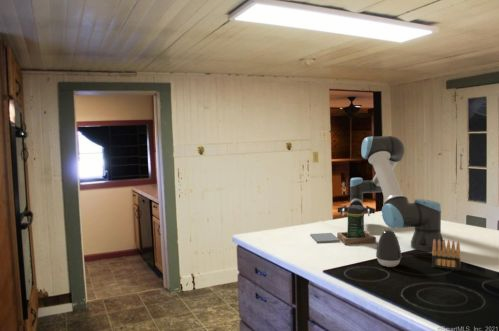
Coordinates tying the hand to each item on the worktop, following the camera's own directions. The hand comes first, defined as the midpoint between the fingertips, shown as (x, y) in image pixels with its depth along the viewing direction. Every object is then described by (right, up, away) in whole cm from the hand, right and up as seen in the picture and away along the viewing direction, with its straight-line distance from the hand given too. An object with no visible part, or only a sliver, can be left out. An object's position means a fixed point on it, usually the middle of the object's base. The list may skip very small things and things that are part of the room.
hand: (355, 213), depth 226 cm
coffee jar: (-2, -13, -9) cm, 16 cm away
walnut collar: (-2, -13, -9) cm, 16 cm away
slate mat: (-18, -13, -3) cm, 22 cm away
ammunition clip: (+23, -16, -56) cm, 62 cm away
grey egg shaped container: (+1, -17, -49) cm, 52 cm away
